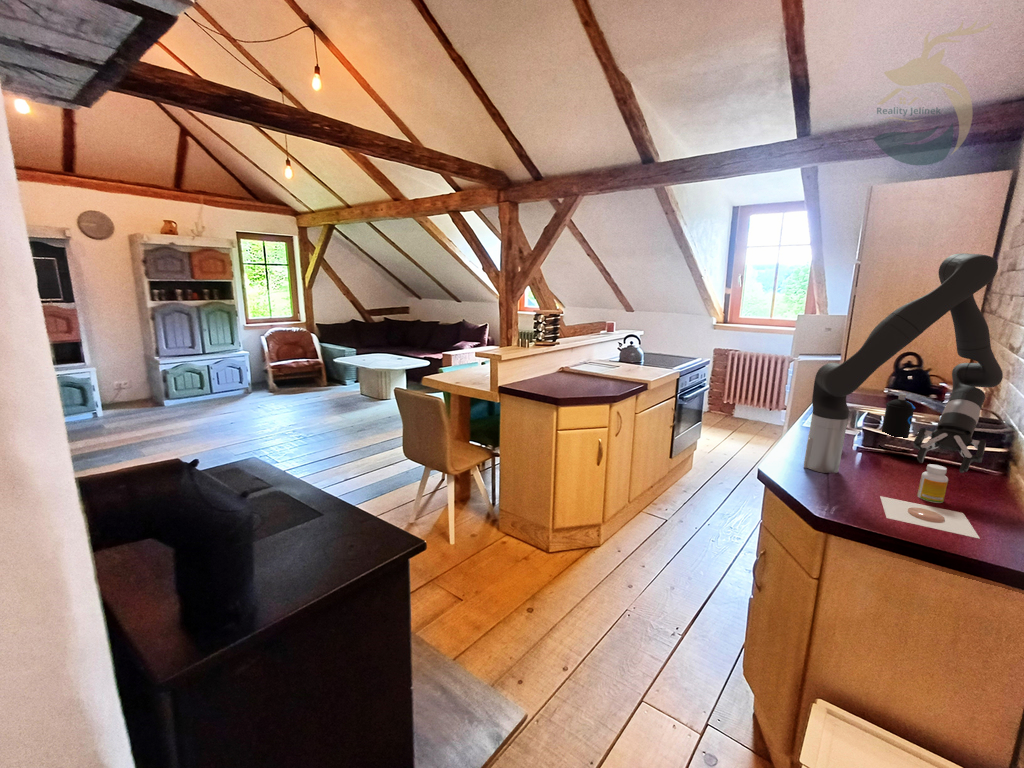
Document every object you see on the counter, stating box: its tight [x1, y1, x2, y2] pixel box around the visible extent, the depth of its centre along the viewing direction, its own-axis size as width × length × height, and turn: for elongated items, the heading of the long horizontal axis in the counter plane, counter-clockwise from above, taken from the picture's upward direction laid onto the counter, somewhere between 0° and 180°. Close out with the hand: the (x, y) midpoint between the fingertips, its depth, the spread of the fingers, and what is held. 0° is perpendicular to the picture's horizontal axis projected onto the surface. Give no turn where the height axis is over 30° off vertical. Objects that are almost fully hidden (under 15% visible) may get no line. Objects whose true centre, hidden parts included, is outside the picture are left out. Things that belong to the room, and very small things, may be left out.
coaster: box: [908, 508, 945, 522], centre depth 119 cm, size 7×7×1 cm
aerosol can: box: [881, 393, 916, 439], centre depth 170 cm, size 8×8×20 cm
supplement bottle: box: [916, 463, 949, 504], centre depth 128 cm, size 5×5×10 cm
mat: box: [879, 495, 981, 539], centre depth 119 cm, size 17×15×1 cm
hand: (940, 466), depth 130 cm, fingers open, 8 cm apart
